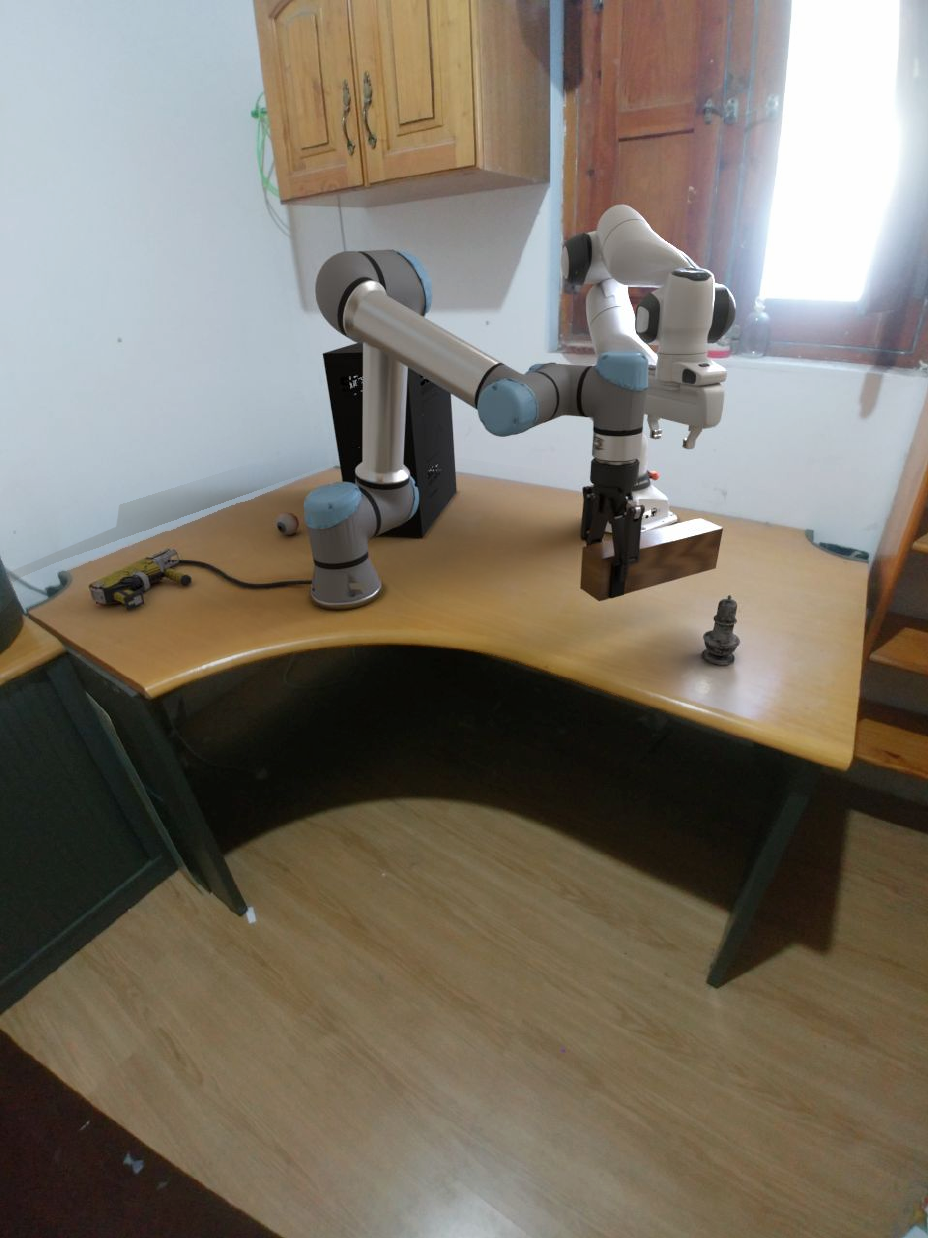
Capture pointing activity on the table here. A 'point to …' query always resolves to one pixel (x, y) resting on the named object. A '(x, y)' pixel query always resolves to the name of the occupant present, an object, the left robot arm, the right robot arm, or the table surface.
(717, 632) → the dark grey tiered figure
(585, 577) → the bar
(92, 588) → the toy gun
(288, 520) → the eyeball
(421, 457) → the black computer tower
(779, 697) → the table surface
